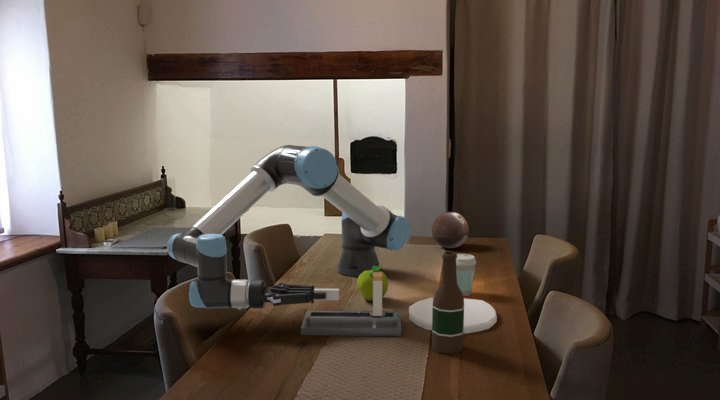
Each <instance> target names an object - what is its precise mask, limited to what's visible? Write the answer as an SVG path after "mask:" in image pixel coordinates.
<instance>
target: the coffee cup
mask: <svg viewBox="0 0 720 400" xmlns="http://www.w3.org/2000/svg"><path fill="white" fill-rule="evenodd" d="M456 254H457V258H456V272H457V284H458V287H459V288H460V290H461V291H462V294H463V297H469V296H471V295H472V290H473V283H474V276H475V269H476V264H477V260H476V258H475V257H476V256H474V255H472V254H469V253H468V254H467V253H456Z"/></svg>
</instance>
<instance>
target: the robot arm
mask: <svg viewBox="0 0 720 400" xmlns="http://www.w3.org/2000/svg"><path fill="white" fill-rule="evenodd" d="M339 169H340V168H339V167H338V165H337V160H336V157H335V155H334V154H333V153H332V152H330V151H329V149H326V148H323V147H319V146H311V145H310V146H303V145H293V144H287V145H286V144H285V145H282V146H279V147H277V148H275V149H273V150H271V151H270V152H269V153H267V154H266V155H264V156H263V157H262V158H261V159H260V160H258V161H256V163H255V164H254V165H253V166H251V168H250V173H249V174H248V175H246V177H245V178H244V179H243V180H241V181H240V182H239V183H238V184H237V185H236V186H235V187H233V189H232V190H230V191H229V192H228V193H227V194H226V195H225V196H224V197H223V198H222V199H220V200H219V201H218V202H217V203H216V204H215V205H214V206H213V207H212V208H211V209H210V210H208V211H207V212H206V213H205V214H204V215H203V216H202V217H200V219H198V220H197V221H196V222H194V224H192V226H190V227H189V228H188V230H186V231H185V232H184V233H183V232H180V233H176V234H175V233H174V234H173V235H171V236H170V238H169V239H168V240H167V243H166V251H167V254H168V255H169V257H171V258H173V259H174V260H176V261H177V262H180V263H184V264H187V265H189V266H190V265H191V266H193V267H196V268H197V278H195V279H193V280H191V282H190V284H189V293H188V299H189V304H190V305H191V306H192V307H194V308H199V309H201V308H202V309H237V310H238V311H241V310H242V309H247V308H251V309H263V308H265V306H266V303H271V304H272V306H273V307H277V306H283V305H285V306H286V305H296V304H297V305H298V304H299V305H300V304H309V303H311V304H314V303H315V302H314V301H340V288H315V285H314V284H312V285H305V284H304V285H303V284H290V283H289V284H288V283H283V282H280V283H278V284H273V285H272V286H267V283H266V280H265V279H251V280H249V279H228V272H227V270H228V266H227V265H228V264H227V263H228V262H227V261H228V260H227V259H228V258H227V255H228V254H227V252H228V248H227V243H226V242H227V240H226V237H225V236H224V235H223V234H224V233H226V232H227V230H229V229H230V228H231V227H232V226H233V225H234V224H235V223H236V222H237V221H239V219H241V218H242V216H244V214H246V213H247V212H248V211H249V210H250V209H251V208H252V207H253V206H254V205H255V204H256V203H257V202H258V201H260V200H261V198H263V197H264V196H265V195H266V194H267V193H268V192H274V191H275V190H277V189H278V187H280V186H282V185H288V184H289V185H295V186H300V187H301V188H303V189H304V190H305V191H306V192H308V193H309V194H310V195H312V196H313V197H322V198H324V199H325V200H326V201H327V202H329V203H330V204H331V205H333V206H334V207H335V208H336V209H338V211H340V212H342V213H341V252H340V256H339V259H338V261H337V262H338V263H337V264H336V265H337V267H336V269H337V270H336V272H337V273H338V274H341V275H343V276H349V277H359V275H360V274H361V273H363V272H364V271H369V270H373V269H372V267H373V266H380V267H381V265H380V262H379V259H378V256H377V252H376V247H377V248H381V249H384V250H385V249H386V250H389V251H399V250H401V249H403V248H404V247H405V246H406V244H407V243H408V241H409V237H410V233H411V225H410V222H409V220H408V219H407V217H405V216H403V215H396V214H394V213H393V212H392V211H391V210H390V209H388V208H387V207H386V206H384V205H376V204H375V202H373V201H372V200H371V199H369V198H368V197H367V196H366V195H365V194H364V193H362V192H361V191H360V190H359V189H357V188H356V187H355V186H354V185H353V184H352V183H350V182H349V181H348V180H347V179H345V177H344V176H342V175H341V174H340V170H339ZM378 271H381V268H380V269H379V270H378Z"/></svg>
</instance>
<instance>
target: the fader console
mask: <svg viewBox="0 0 720 400" xmlns="http://www.w3.org/2000/svg"><path fill="white" fill-rule="evenodd" d="M370 312H373V310H370V311H369V310H307V311H306V312H305V314H304V317H303V320H302V323H301V327H300V336H342V337H344V336H346V337H347V336H350V337H351V336H355V337H358V336H362V337H363V336H364V337H367V336H369V337H370V336H371V337H402V331H403V330H402V322H401V313H400V312H398V311H391V310H390V311H387V310H385V311H383V310H382V312H385V317H370Z"/></svg>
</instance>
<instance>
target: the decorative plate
mask: <svg viewBox="0 0 720 400" xmlns="http://www.w3.org/2000/svg"><path fill="white" fill-rule="evenodd" d="M433 298H434V296H433V297H428V298H425V299H420V300H418V301H416V302H415V303H413V304H412V305H410V306H409V307H408V317H409V320H410V321H411V322H412V323H413V324H414V325H416V326H418V327H420V328H422V329H425V330H427V331H432V309H433ZM497 319H498V317H497V311H496V309H495V308H494V307H493V306H492V305H491V304H489V303H488V302H486V301H484V300H483V299H482V300H481V299H475V298H474V299H473V298H464V330H463V335H465V334H471V333H477V332H482V331H486V330H489V329H490V328H492V327H494V325H495V324H496V323H498V321H497Z"/></svg>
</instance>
